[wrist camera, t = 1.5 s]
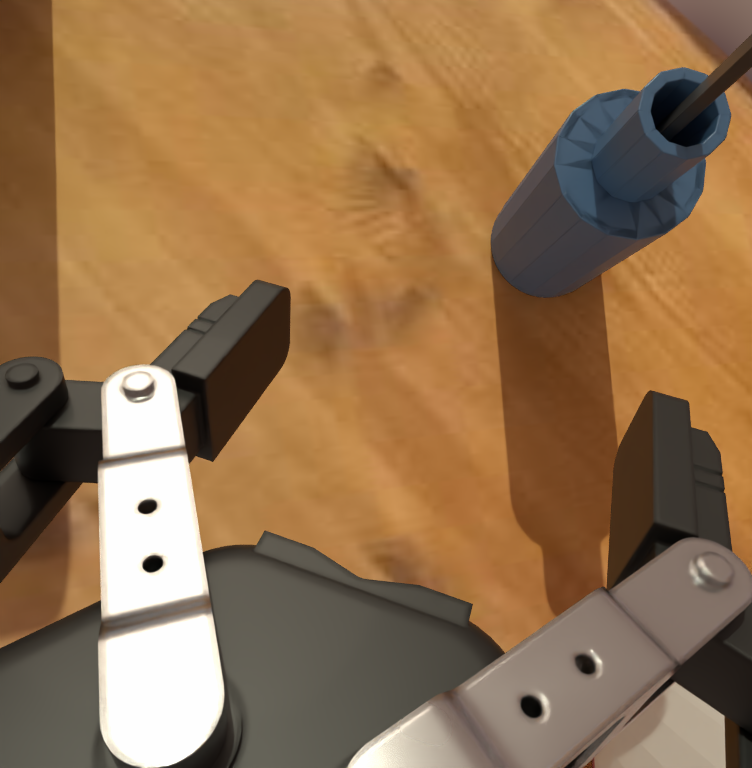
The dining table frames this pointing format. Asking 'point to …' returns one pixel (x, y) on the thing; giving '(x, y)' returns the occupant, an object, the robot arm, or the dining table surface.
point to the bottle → (606, 186)
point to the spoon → (708, 90)
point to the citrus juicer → (669, 736)
